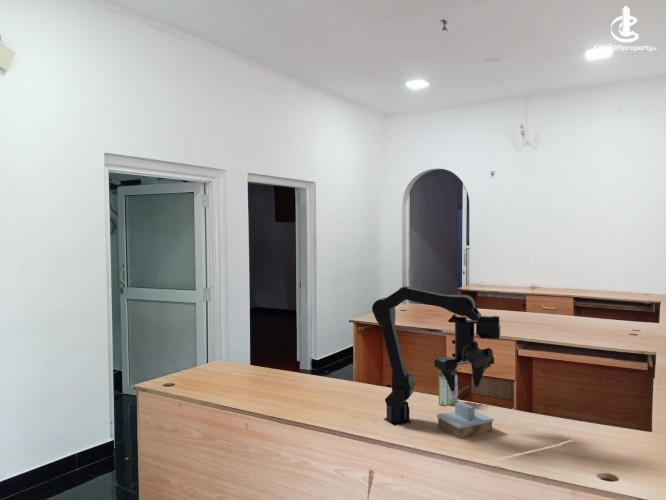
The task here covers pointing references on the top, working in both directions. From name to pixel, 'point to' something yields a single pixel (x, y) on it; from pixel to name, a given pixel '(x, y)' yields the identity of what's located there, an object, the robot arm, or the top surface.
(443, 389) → the ink box
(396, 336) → the robot arm
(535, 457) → the top surface
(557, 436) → the top surface
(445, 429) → the box
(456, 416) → the lid
